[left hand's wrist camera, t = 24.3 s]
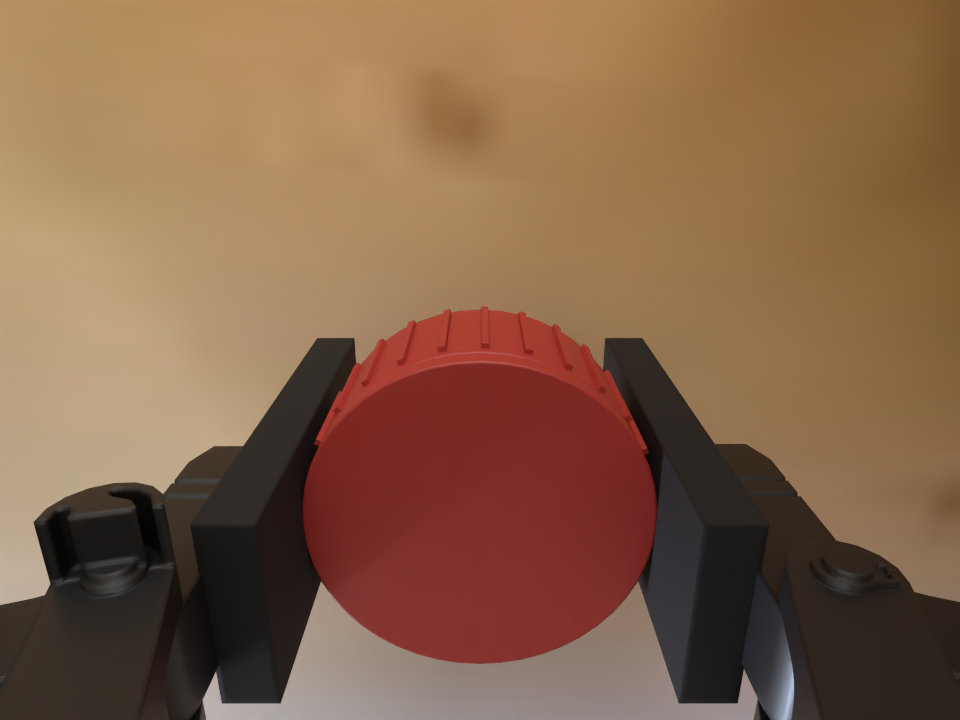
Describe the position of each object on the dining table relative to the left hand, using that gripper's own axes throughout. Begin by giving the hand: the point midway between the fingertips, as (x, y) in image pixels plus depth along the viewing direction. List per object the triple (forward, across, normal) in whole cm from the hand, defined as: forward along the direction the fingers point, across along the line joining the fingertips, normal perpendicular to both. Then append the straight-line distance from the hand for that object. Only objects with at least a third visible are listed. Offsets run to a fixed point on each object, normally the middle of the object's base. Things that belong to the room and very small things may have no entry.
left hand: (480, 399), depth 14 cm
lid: (-4, 0, 0) cm, 4 cm away
